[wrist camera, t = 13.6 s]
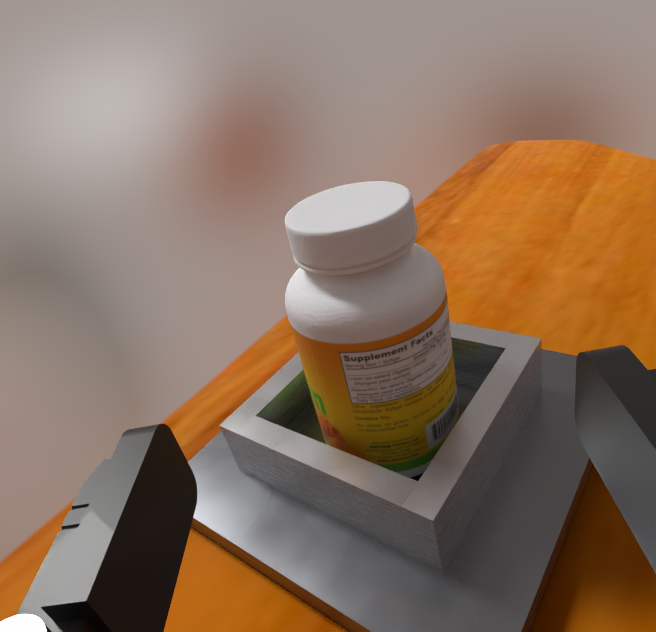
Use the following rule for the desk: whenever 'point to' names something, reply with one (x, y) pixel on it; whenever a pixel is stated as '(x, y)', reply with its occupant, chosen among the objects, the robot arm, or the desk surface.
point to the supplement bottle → (372, 325)
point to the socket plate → (407, 497)
